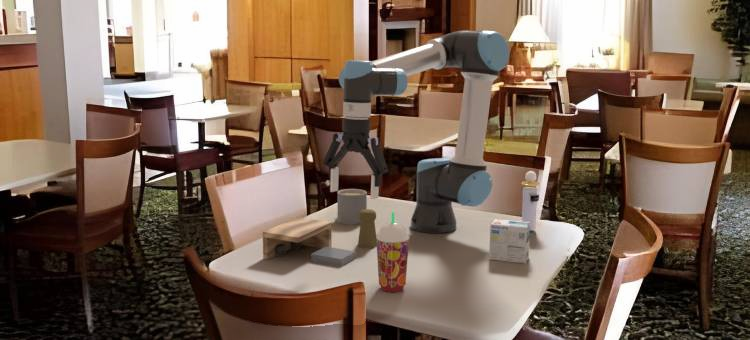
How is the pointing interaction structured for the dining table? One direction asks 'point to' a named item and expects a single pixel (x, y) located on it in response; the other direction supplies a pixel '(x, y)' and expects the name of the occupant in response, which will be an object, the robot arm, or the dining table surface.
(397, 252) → the smoothie
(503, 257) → the light bulb box
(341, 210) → the coffee mug
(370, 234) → the cork
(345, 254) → the slate board
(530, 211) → the perfume bottle
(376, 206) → the dining table surface
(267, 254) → the oak shelf
